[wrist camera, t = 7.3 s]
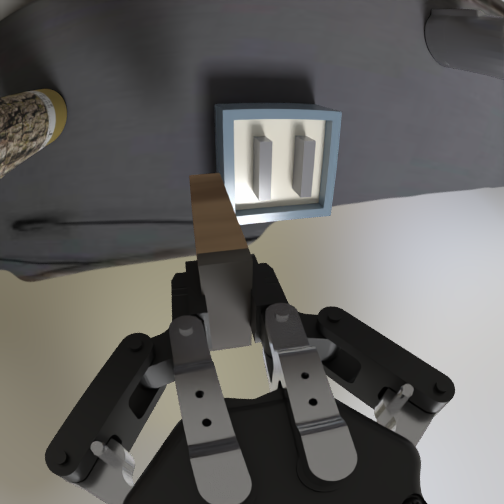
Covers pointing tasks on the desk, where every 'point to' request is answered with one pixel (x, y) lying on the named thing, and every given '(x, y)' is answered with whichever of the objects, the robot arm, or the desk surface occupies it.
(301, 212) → the blue open box
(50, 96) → the bark log cylinder
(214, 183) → the wooden plank
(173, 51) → the desk surface
